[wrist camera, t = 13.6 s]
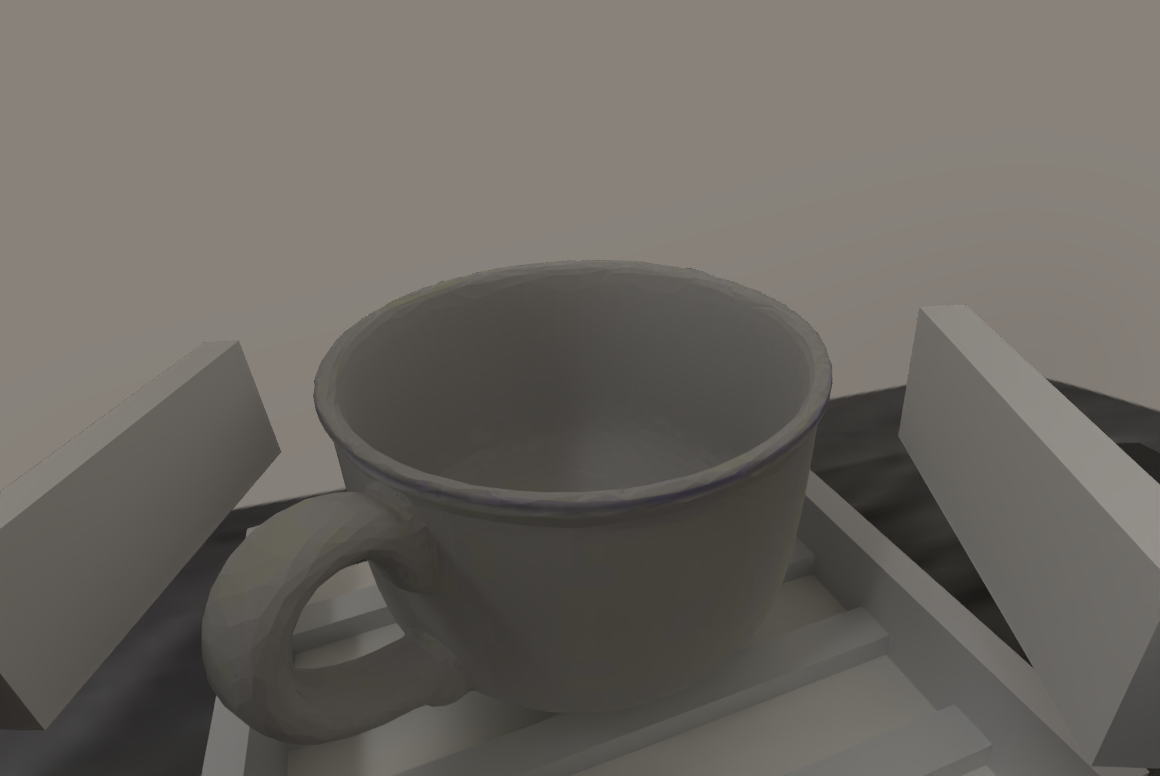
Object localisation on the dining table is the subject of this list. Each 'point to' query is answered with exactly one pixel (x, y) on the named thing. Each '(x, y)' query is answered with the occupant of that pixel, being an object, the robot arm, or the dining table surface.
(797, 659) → the drying rack
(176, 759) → the dining table surface
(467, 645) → the teacup
